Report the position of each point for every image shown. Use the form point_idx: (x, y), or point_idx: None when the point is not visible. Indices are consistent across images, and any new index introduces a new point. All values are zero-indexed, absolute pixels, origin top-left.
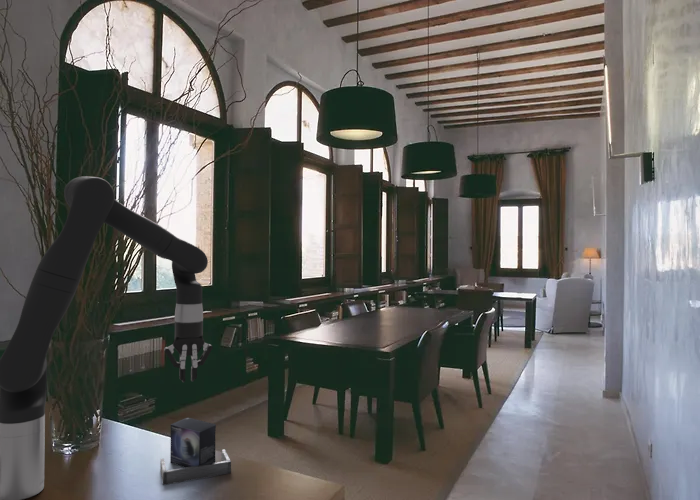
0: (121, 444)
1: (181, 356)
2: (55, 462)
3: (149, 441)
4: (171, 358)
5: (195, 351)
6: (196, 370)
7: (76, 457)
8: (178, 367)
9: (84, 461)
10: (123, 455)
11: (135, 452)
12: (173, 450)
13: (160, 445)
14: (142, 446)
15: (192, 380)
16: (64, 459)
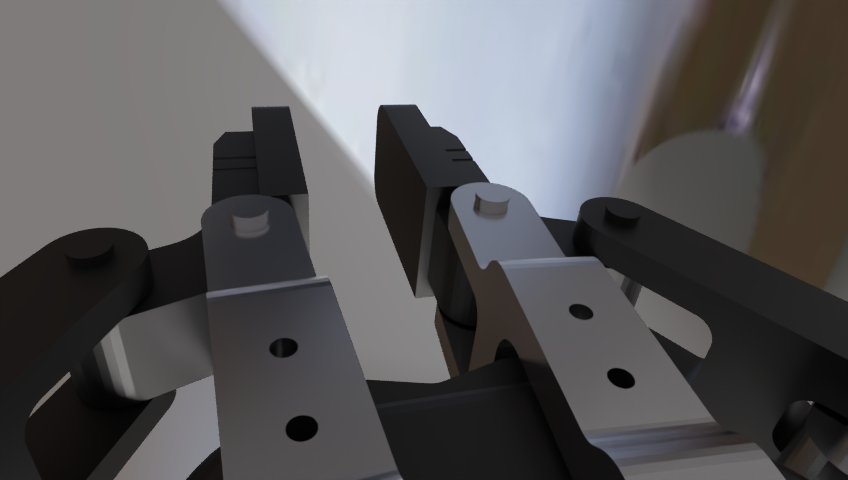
0: (555, 154)
1: (632, 310)
2: (798, 55)
3: None
4: (781, 291)
5: (275, 458)
6: (221, 198)
7: (729, 77)
8: (542, 219)
9: (723, 17)
10: (581, 16)
11: (528, 31)
12: None
13: (406, 76)
14: (484, 97)
15: (280, 107)
16: (766, 74)
